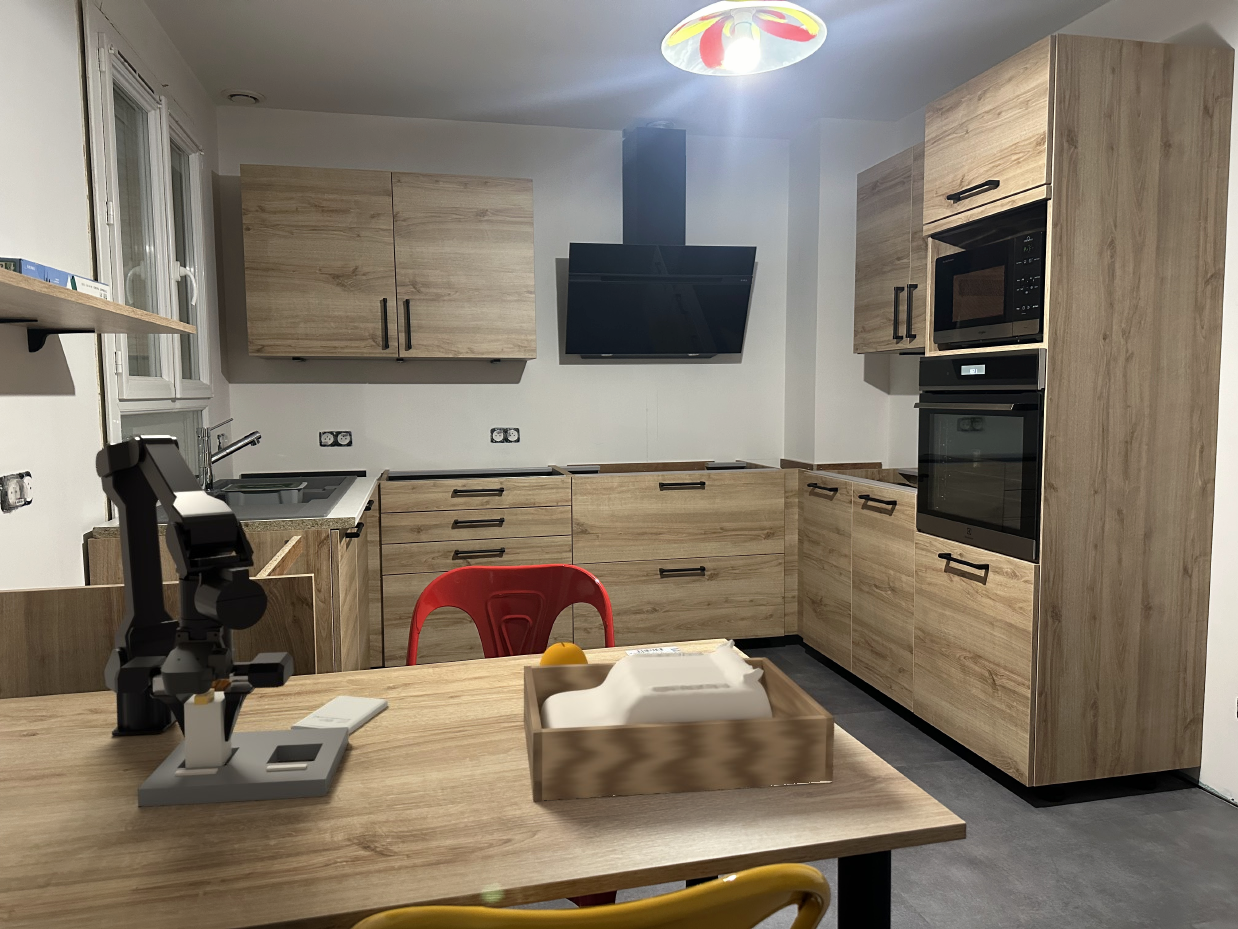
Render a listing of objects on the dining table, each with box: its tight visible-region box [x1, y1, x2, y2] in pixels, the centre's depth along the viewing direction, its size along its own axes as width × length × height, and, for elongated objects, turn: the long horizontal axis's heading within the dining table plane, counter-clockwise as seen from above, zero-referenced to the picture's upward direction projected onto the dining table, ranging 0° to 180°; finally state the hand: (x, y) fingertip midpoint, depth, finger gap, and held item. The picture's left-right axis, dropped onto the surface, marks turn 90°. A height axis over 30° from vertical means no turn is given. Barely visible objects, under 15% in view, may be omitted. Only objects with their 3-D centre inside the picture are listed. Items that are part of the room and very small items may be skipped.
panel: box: [137, 727, 349, 807], centre depth 102 cm, size 20×16×2 cm
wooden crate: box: [523, 657, 836, 802], centre depth 110 cm, size 36×25×8 cm
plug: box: [184, 689, 232, 768], centre depth 101 cm, size 4×5×9 cm
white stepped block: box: [540, 639, 773, 729], centre depth 108 cm, size 19×30×13 cm, turn 98°
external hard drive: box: [290, 695, 389, 736], centre depth 120 cm, size 2×8×12 cm
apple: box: [539, 642, 589, 666], centre depth 134 cm, size 8×8×8 cm
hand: (208, 741), depth 101 cm, fingers closed on plug, 4 cm apart
